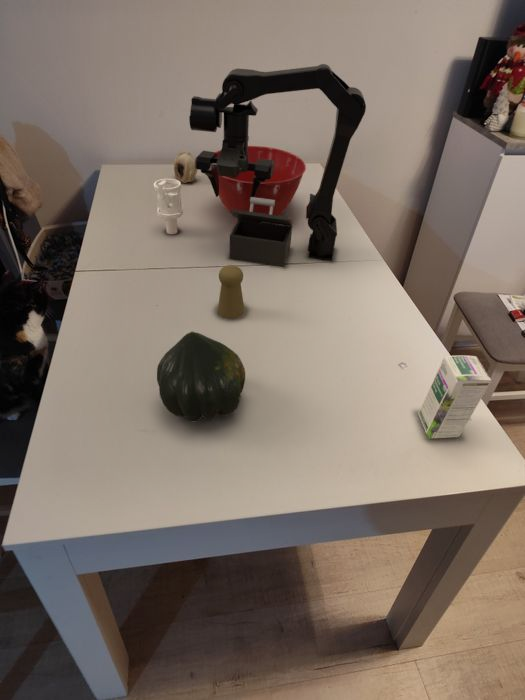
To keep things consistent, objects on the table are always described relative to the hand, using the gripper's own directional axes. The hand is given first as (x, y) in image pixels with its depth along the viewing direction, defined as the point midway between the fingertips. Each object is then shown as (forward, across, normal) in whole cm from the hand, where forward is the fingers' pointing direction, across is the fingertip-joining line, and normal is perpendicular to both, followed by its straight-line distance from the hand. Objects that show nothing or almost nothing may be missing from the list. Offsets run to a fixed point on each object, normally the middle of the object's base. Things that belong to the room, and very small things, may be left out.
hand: (234, 198), depth 113 cm
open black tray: (+13, +8, -2) cm, 16 cm away
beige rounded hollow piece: (+9, -28, +40) cm, 49 cm away
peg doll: (+14, +7, -29) cm, 32 cm away
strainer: (+14, -19, +3) cm, 24 cm away
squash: (+14, +9, -56) cm, 58 cm away
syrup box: (+13, +51, -51) cm, 73 cm away
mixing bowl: (+14, +1, +22) cm, 26 cm away
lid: (+3, +8, -2) cm, 9 cm away
